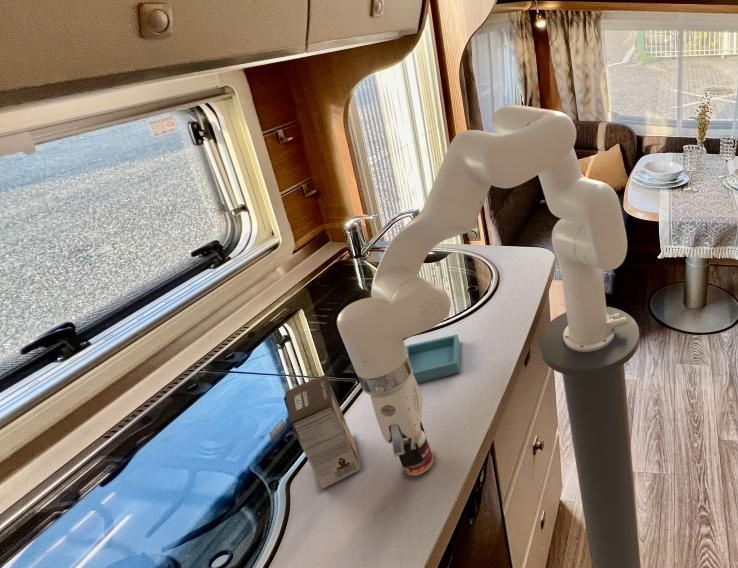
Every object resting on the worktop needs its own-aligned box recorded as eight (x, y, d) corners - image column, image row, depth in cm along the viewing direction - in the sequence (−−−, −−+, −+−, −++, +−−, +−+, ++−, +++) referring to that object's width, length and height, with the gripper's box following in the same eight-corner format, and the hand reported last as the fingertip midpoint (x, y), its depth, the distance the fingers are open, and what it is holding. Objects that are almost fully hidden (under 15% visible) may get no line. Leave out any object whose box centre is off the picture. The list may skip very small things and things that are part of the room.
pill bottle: (413, 481, 86) (400, 447, 82) (400, 466, 89) (387, 433, 85) (439, 462, 89) (427, 429, 85) (425, 448, 92) (414, 415, 88)
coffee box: (315, 455, 92) (283, 389, 85) (353, 437, 95) (326, 372, 88) (322, 490, 85) (288, 422, 78) (362, 469, 89) (334, 402, 82)
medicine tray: (459, 343, 119) (457, 334, 118) (459, 372, 110) (456, 363, 109) (408, 355, 116) (405, 345, 115) (403, 386, 107) (399, 376, 106)
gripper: (404, 402, 73) (434, 485, 81) (415, 333, 87) (439, 409, 95) (348, 417, 71) (384, 500, 79) (368, 343, 86) (397, 420, 94)
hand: (414, 449), depth 87 cm, fingers closed on pill bottle, 4 cm apart
